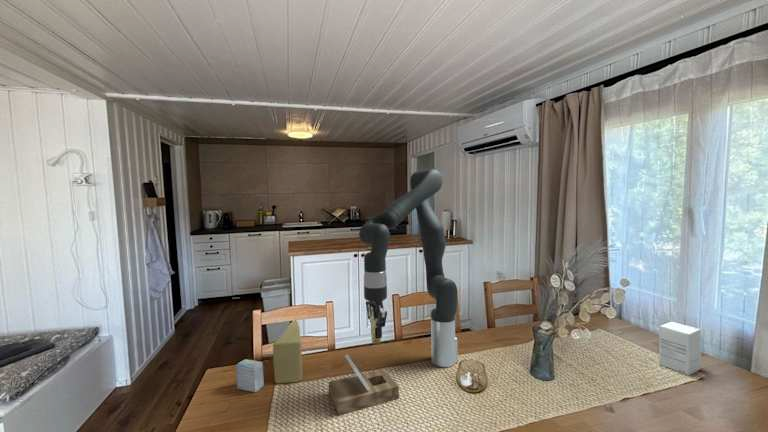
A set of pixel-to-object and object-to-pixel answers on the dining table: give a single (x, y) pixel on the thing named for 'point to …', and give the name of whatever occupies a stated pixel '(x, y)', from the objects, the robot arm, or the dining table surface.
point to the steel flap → (357, 372)
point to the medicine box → (249, 375)
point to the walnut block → (362, 391)
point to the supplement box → (680, 347)
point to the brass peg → (374, 332)
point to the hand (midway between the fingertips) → (376, 335)
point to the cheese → (288, 355)
